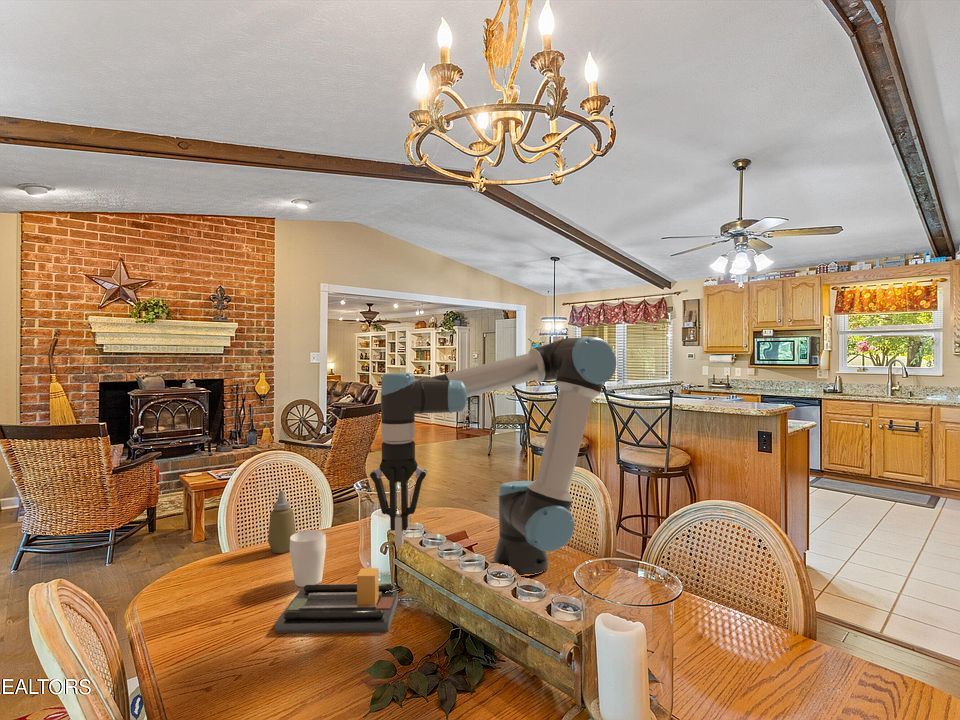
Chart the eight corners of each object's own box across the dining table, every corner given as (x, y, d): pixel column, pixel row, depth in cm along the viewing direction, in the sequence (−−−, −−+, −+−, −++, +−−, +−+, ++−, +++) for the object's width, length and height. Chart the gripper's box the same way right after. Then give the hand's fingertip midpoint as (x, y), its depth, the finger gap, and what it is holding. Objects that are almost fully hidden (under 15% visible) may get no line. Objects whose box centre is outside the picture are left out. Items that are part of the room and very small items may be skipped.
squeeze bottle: (302, 548, 151) (301, 489, 151) (279, 557, 144) (278, 496, 144) (285, 543, 156) (284, 486, 155) (262, 552, 149) (261, 492, 148)
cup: (332, 574, 133) (331, 529, 133) (318, 590, 124) (317, 542, 124) (300, 573, 134) (299, 529, 134) (283, 589, 125) (282, 541, 125)
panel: (399, 595, 121) (399, 580, 121) (388, 631, 105) (388, 614, 105) (301, 596, 121) (301, 581, 121) (275, 633, 105) (274, 616, 105)
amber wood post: (378, 598, 115) (378, 568, 115) (375, 606, 111) (374, 575, 111) (361, 598, 115) (361, 568, 115) (357, 607, 111) (356, 576, 111)
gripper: (428, 437, 117) (429, 537, 117) (373, 438, 116) (374, 538, 117) (425, 443, 109) (426, 550, 109) (366, 444, 109) (367, 550, 109)
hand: (399, 543), depth 113 cm, fingers closed
